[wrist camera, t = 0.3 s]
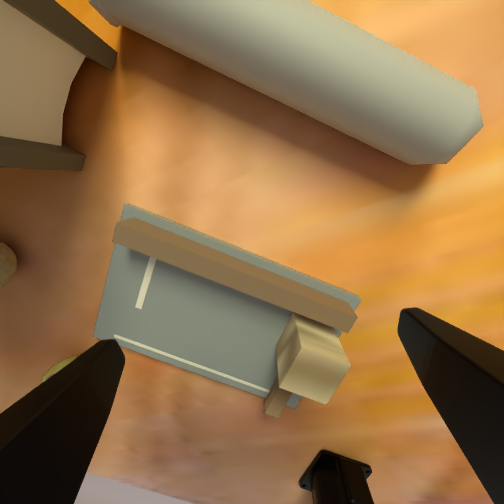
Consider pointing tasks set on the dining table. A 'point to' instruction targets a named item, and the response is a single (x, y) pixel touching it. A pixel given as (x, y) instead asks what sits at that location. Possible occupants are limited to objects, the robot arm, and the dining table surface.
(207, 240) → the board
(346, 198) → the dining table surface
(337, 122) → the tube
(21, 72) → the book
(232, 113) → the dining table surface
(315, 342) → the wooden block with peg
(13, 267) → the hammer
